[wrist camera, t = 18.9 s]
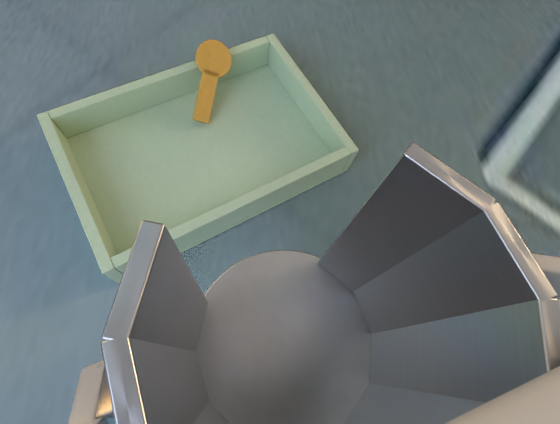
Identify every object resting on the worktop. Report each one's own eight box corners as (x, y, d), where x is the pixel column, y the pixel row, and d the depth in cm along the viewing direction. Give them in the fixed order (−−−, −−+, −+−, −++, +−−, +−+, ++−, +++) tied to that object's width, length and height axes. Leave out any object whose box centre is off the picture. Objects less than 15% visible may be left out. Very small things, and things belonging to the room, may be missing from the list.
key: (235, 47, 22) (233, 49, 23) (200, 33, 21) (199, 36, 22) (217, 126, 23) (216, 126, 23) (183, 116, 22) (182, 117, 22)
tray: (119, 284, 19) (102, 274, 17) (57, 140, 22) (35, 114, 20) (347, 170, 23) (359, 149, 21) (270, 61, 26) (273, 32, 24)
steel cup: (406, 403, 13) (670, 469, 5) (222, 491, 12) (181, 794, 4) (330, 232, 16) (429, 92, 8) (168, 287, 14) (70, 183, 6)
